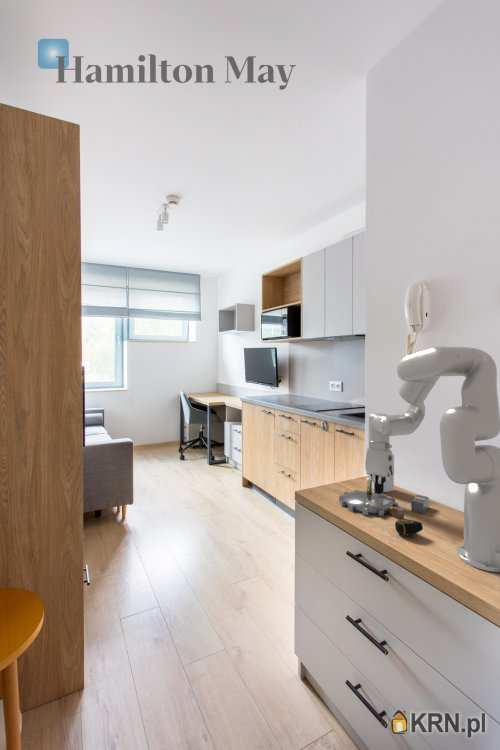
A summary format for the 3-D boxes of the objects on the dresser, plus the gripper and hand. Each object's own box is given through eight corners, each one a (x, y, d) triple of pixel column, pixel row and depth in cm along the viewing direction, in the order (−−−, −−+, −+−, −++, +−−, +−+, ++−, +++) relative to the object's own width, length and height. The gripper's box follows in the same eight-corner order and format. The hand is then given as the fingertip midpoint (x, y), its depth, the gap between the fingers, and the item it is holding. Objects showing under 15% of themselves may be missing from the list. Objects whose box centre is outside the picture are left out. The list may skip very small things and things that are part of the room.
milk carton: (393, 491, 150) (394, 446, 150) (379, 493, 148) (379, 447, 147) (382, 485, 157) (383, 442, 156) (368, 487, 155) (369, 443, 154)
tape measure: (425, 533, 109) (422, 520, 110) (408, 538, 107) (406, 525, 107) (407, 529, 115) (405, 517, 116) (391, 534, 113) (389, 521, 113)
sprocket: (380, 493, 146) (380, 474, 146) (409, 514, 125) (409, 492, 125) (331, 496, 143) (331, 476, 143) (352, 517, 123) (352, 494, 123)
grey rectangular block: (428, 507, 133) (428, 496, 133) (423, 514, 127) (423, 502, 127) (417, 505, 136) (417, 494, 135) (411, 511, 129) (411, 500, 129)
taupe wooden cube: (403, 517, 124) (404, 509, 124) (399, 519, 122) (399, 510, 122) (396, 514, 126) (396, 506, 126) (392, 516, 125) (392, 507, 125)
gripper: (402, 447, 134) (402, 496, 134) (368, 441, 146) (368, 486, 146) (390, 450, 130) (390, 500, 130) (356, 443, 142) (356, 489, 142)
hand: (378, 492), depth 138 cm, fingers closed
